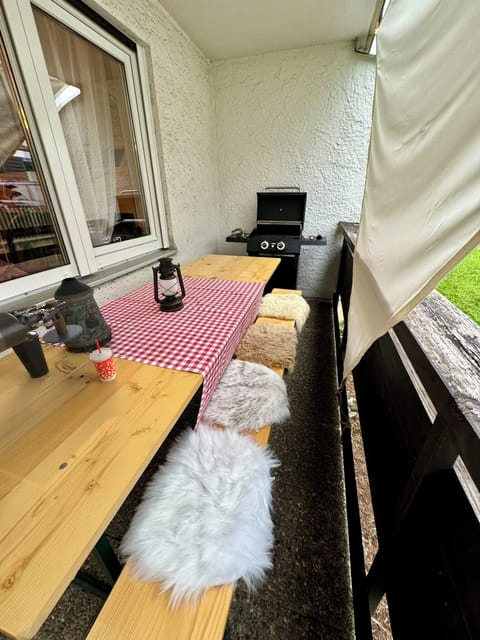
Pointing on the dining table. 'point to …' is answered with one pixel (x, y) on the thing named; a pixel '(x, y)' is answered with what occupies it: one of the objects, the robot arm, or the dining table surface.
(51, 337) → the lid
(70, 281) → the beer stein
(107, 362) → the beverage cup
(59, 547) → the dining table surface
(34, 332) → the drinking cup
